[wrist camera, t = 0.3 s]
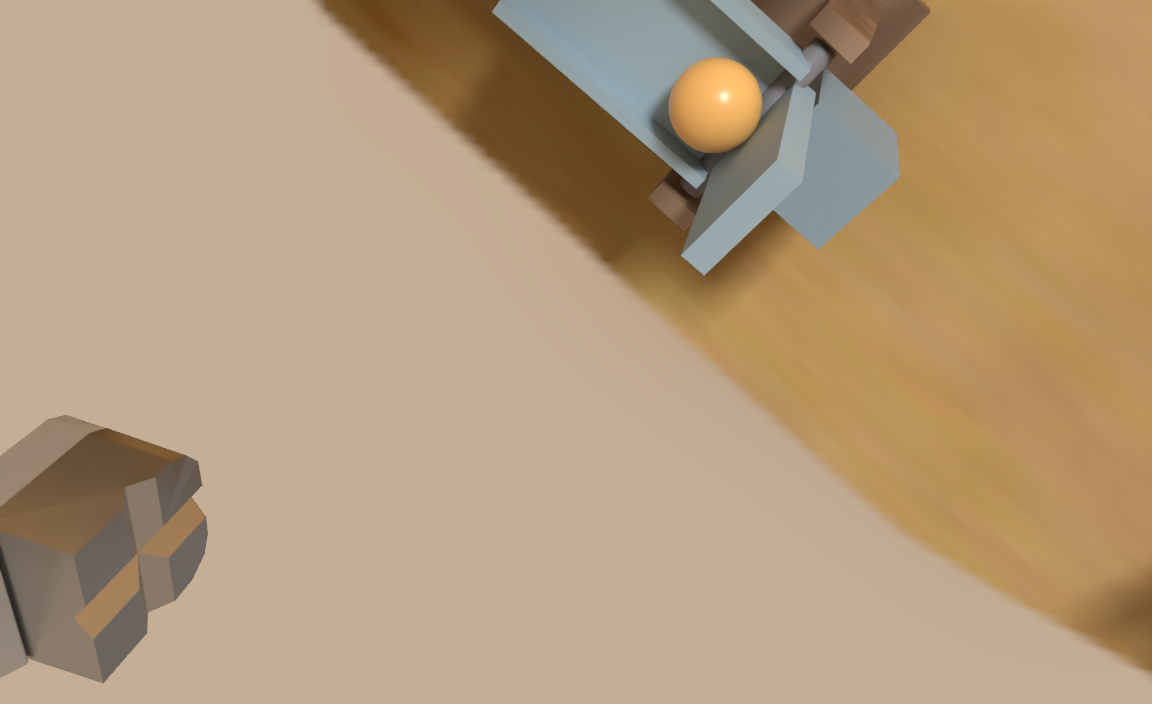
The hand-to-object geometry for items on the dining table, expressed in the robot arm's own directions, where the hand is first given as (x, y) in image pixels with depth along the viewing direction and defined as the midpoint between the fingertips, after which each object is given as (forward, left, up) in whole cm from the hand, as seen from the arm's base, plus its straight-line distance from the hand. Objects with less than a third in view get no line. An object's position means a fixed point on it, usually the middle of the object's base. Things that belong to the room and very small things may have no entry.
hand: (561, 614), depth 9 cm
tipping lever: (+4, -6, -42) cm, 43 cm away
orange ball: (+5, -4, -34) cm, 35 cm away
